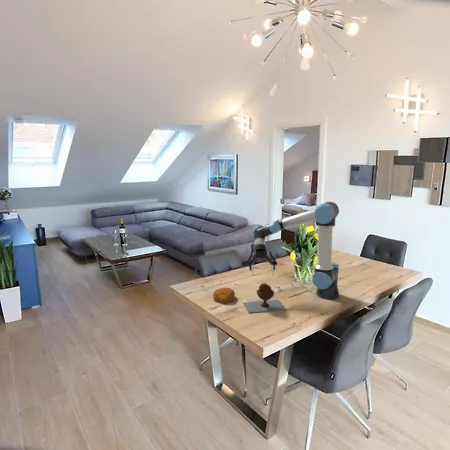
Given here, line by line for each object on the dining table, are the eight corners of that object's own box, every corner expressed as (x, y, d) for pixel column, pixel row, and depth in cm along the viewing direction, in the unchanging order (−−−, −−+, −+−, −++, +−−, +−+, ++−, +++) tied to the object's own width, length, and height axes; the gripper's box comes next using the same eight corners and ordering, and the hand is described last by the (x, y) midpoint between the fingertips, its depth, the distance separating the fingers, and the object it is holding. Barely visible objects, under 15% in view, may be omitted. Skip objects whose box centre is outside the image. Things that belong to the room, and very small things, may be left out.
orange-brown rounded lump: (236, 298, 229) (237, 286, 228) (231, 305, 214) (232, 292, 213) (216, 295, 232) (216, 284, 232) (209, 301, 217) (210, 289, 216)
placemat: (278, 300, 220) (278, 299, 220) (286, 310, 207) (286, 309, 207) (243, 303, 216) (243, 302, 216) (248, 313, 202) (248, 312, 202)
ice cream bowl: (273, 310, 205) (274, 287, 202) (255, 308, 207) (255, 285, 204) (274, 303, 215) (275, 280, 212) (257, 301, 217) (257, 279, 214)
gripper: (277, 248, 233) (280, 277, 221) (241, 249, 232) (243, 277, 220) (279, 243, 227) (282, 272, 215) (242, 243, 226) (244, 272, 214)
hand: (262, 274), depth 218 cm, fingers open, 13 cm apart
